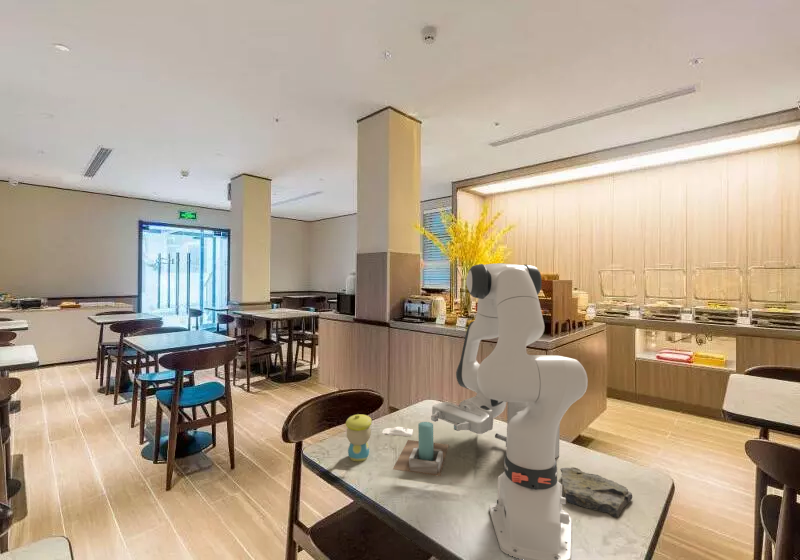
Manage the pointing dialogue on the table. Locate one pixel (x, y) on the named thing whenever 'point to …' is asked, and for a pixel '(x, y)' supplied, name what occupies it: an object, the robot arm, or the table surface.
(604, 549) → the table surface
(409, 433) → the toy car
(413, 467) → the walnut board
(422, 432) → the teal peg
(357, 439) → the toy
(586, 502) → the stone
